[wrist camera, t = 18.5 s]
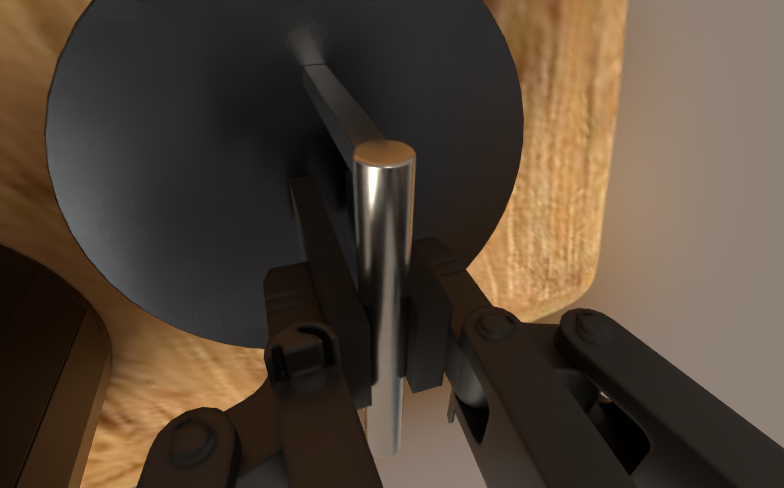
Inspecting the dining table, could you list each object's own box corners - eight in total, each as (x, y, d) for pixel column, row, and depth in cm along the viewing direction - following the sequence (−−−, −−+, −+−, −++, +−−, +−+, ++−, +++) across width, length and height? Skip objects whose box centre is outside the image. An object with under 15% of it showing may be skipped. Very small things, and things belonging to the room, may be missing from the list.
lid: (158, 365, 18) (120, 605, 11) (-85, -106, 9) (-1050, -256, 2) (478, 291, 22) (584, 437, 16) (548, -81, 13) (889, -107, 6)
